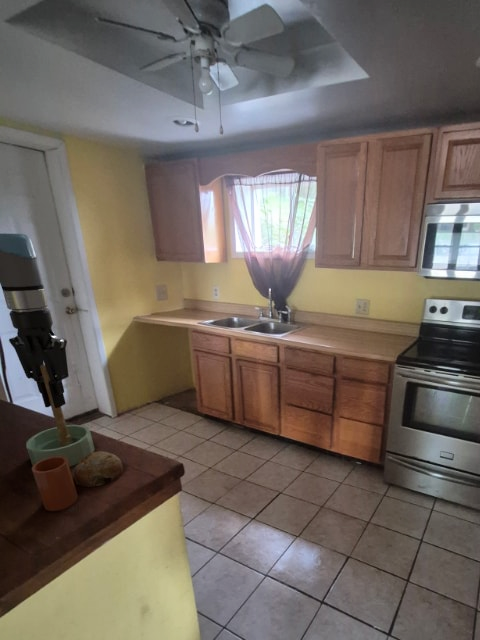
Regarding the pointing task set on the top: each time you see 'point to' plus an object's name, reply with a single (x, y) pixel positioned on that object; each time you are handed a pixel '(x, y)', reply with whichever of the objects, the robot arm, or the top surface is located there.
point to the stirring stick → (57, 413)
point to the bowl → (48, 441)
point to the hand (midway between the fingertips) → (55, 405)
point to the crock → (55, 483)
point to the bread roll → (97, 469)
